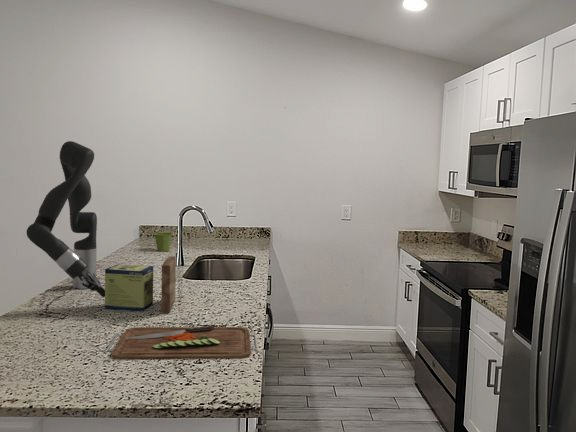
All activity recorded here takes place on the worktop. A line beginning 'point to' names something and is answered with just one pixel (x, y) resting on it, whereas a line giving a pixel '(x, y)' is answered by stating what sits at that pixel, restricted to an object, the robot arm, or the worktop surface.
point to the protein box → (129, 287)
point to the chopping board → (183, 343)
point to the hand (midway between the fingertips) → (105, 295)
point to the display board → (168, 284)
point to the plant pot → (163, 241)
